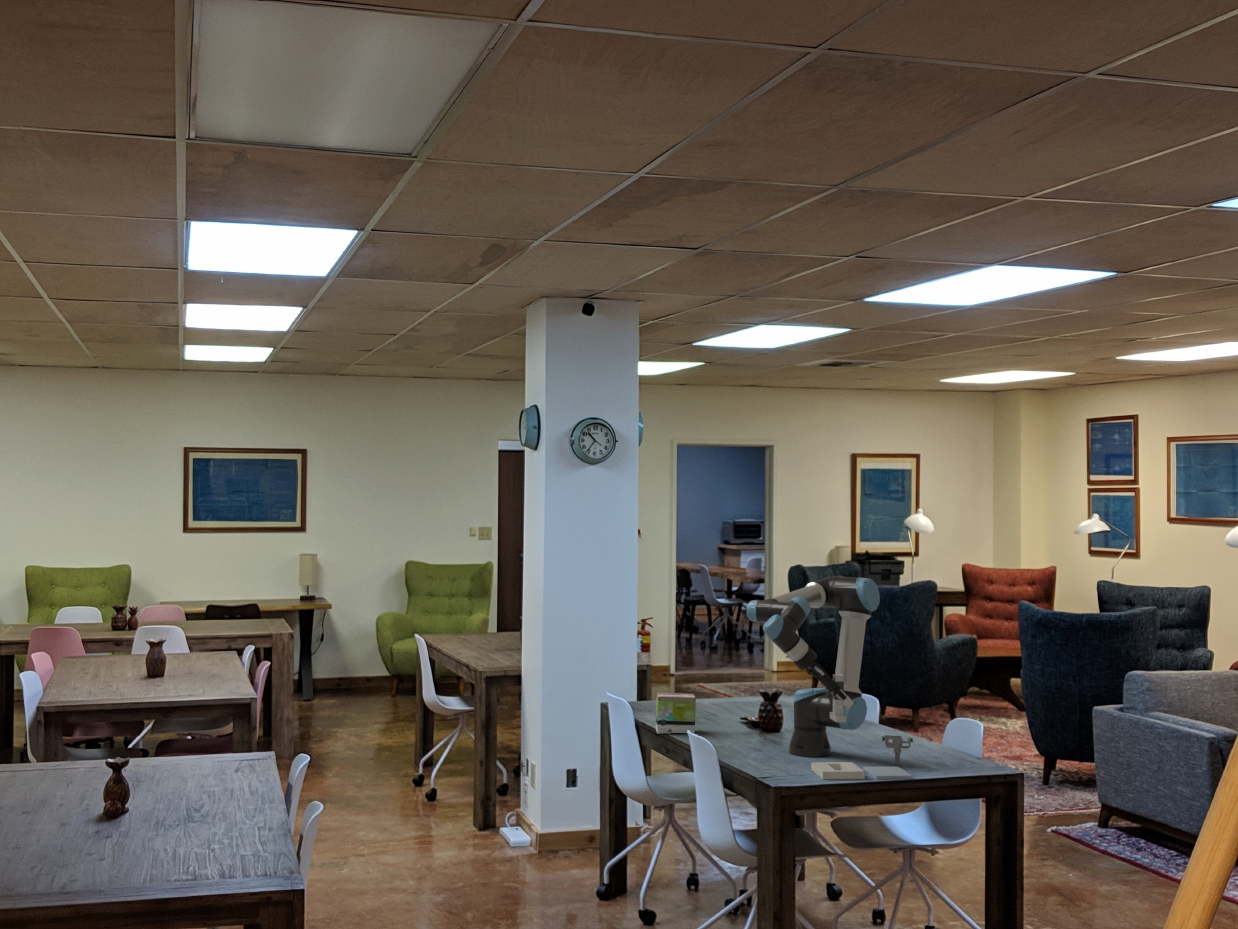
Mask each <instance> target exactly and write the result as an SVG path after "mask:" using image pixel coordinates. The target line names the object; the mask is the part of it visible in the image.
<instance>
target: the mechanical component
mask: <svg viewBox="0 0 1238 929" xmlns="http://www.w3.org/2000/svg"><path fill="white" fill-rule="evenodd" d="M907 738H908V739H907V740H906V741H905V740H904V739H903V737H902V736H901V735H887V734H886V735H884V736H881V740H882V742H884V744H885V747H886V748H888V749H893V753H894V765H895V767H900V765H901V764H900V763H901V761H900V760H901V758H900V756H901V754H902V749H905V750H907V749H910V748H911V745H912V744H911V743H913V742H914V738H913V737H911V736H908V737H907ZM890 740H891V741H892V742H889V741H890ZM903 744H908V745H903Z"/></svg>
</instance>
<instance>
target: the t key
mask: <svg viewBox="0 0 1238 929" xmlns="http://www.w3.org/2000/svg"><path fill="white" fill-rule="evenodd" d="M832 679H833V680H834V681H835V682H836V684H837V685H838V686H839V687H841V690H842V691H843V692H844V681H843V675H841V674H835V673H834V674H833V673H832ZM833 694H834V692H833V691H832V698H833V712H830V719H832V720H834V721H835V722H846V716H845V715H843V703H842V702H841V701H840V699H839V698H838V697H837V696H836V695H835V696H834V695H833Z"/></svg>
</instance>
